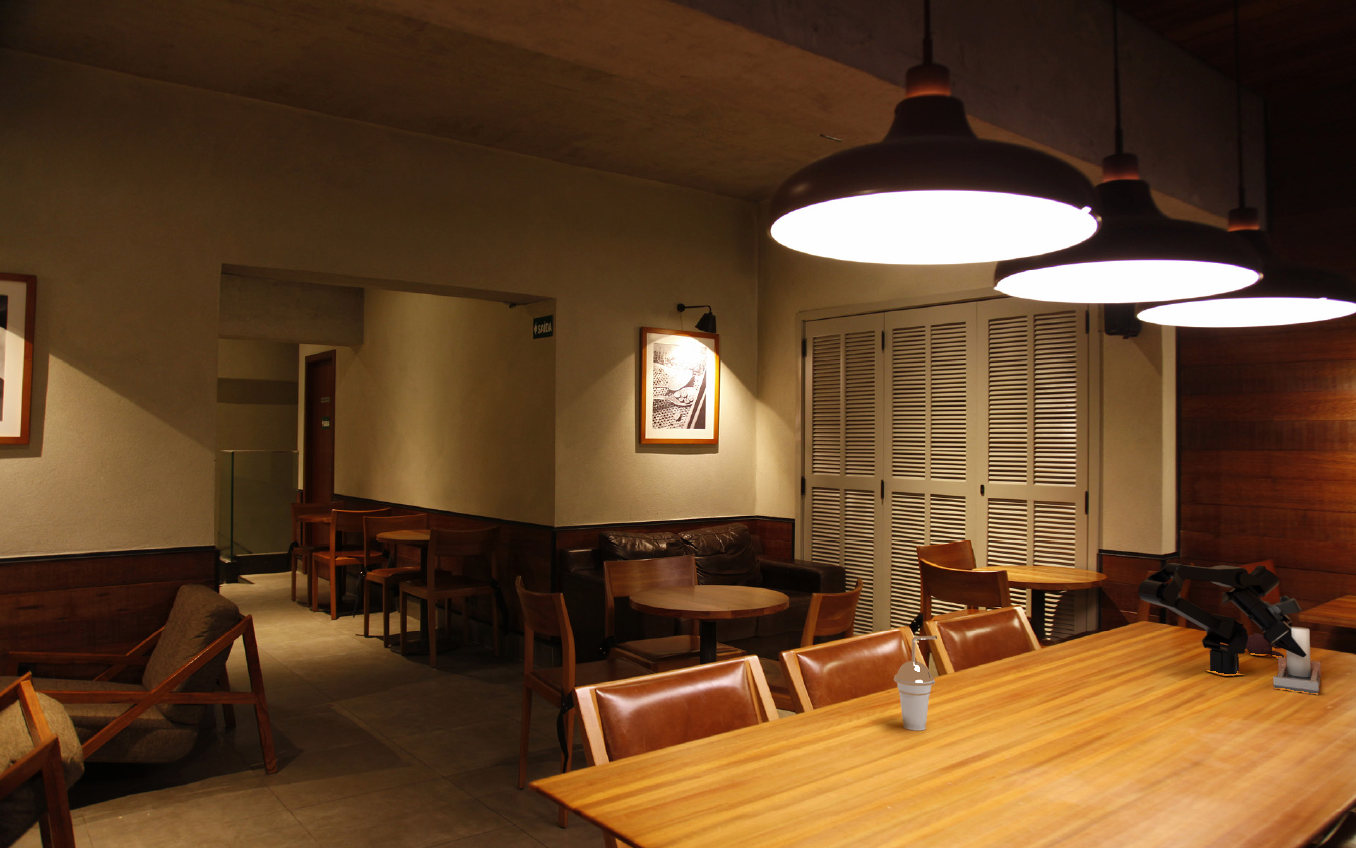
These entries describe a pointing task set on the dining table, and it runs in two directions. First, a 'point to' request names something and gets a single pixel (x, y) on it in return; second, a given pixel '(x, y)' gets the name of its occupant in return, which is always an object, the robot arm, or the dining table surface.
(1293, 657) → the white cylinder
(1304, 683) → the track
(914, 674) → the cup with straw
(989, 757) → the dining table surface
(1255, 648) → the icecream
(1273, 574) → the robot arm
